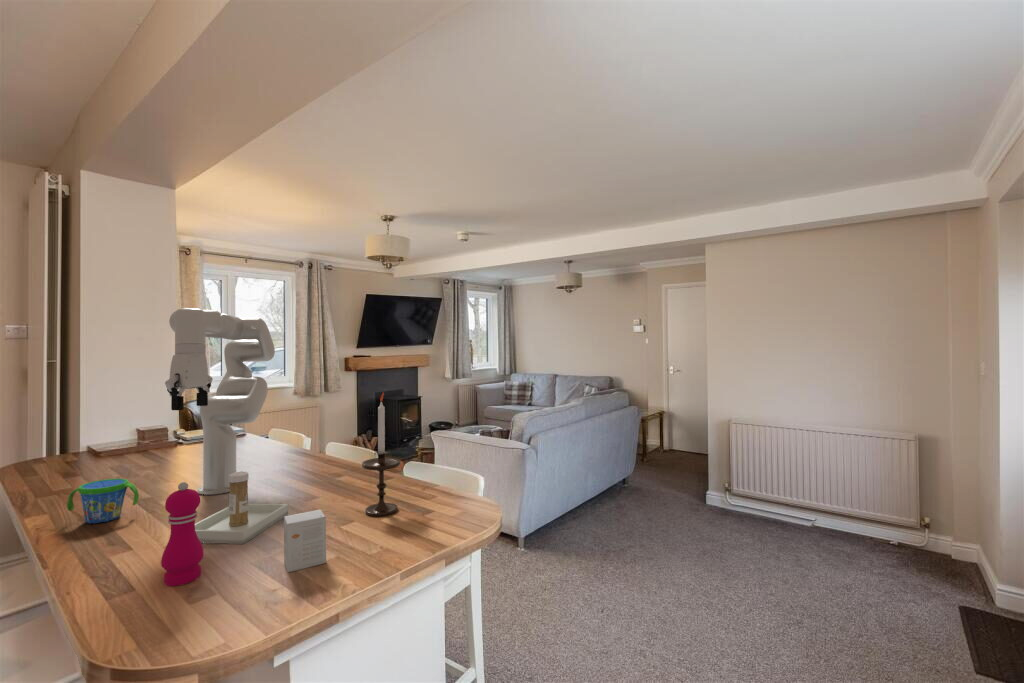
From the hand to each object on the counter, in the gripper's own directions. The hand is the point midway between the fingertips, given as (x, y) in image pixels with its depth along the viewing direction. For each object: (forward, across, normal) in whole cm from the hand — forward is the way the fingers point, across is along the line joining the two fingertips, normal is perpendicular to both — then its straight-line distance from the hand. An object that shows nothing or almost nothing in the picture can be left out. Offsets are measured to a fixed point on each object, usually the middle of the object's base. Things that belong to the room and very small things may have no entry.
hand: (190, 407), depth 138 cm
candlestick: (+31, -2, +57) cm, 65 cm away
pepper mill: (+31, +39, +29) cm, 57 cm away
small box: (+31, +31, +51) cm, 67 cm away
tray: (+30, +12, +23) cm, 40 cm away
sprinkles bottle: (+30, +12, +23) cm, 39 cm away
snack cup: (+31, +8, -19) cm, 37 cm away
